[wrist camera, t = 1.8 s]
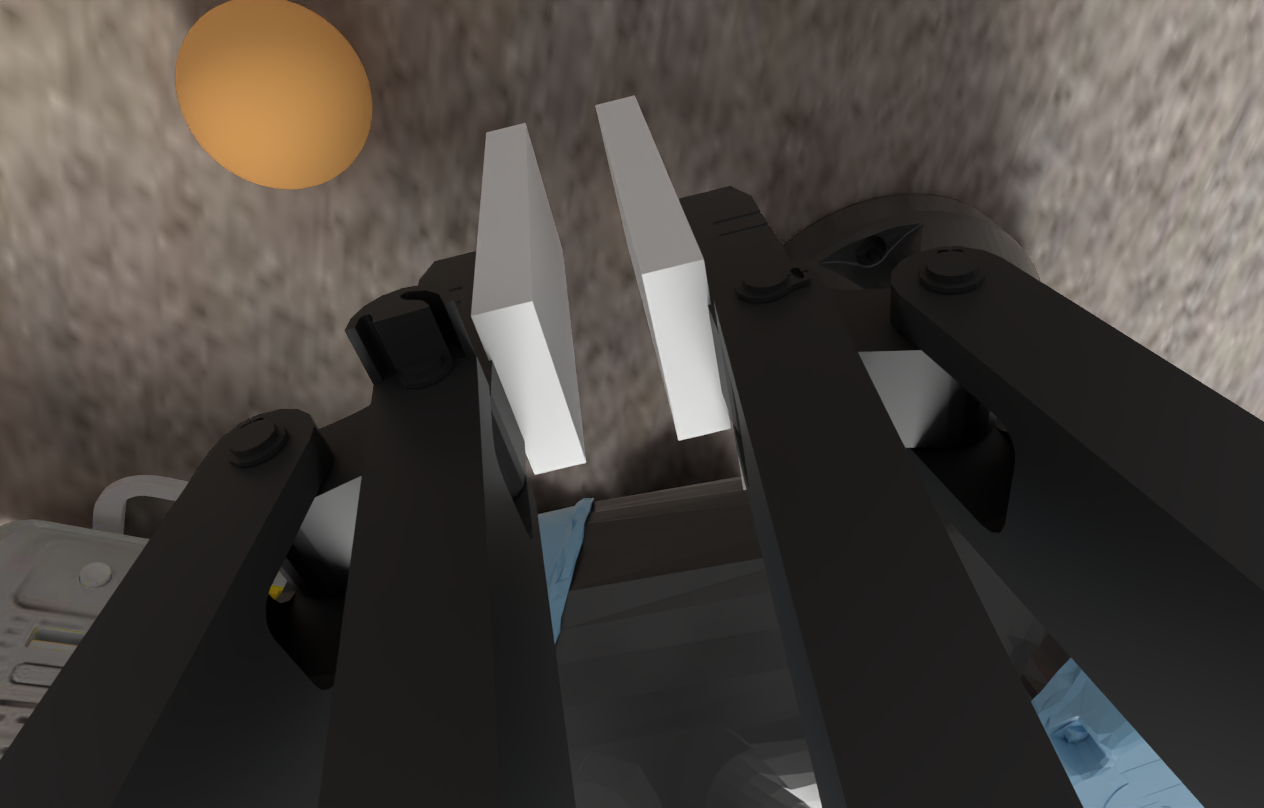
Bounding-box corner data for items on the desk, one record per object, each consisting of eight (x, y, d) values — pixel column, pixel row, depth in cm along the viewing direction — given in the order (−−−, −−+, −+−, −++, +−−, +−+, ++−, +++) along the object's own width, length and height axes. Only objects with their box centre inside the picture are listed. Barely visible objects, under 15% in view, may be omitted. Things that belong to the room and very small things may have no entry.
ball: (401, 25, 27) (377, 70, 23) (363, 175, 31) (336, 242, 26) (220, -51, 25) (153, -20, 21) (200, 118, 28) (138, 179, 24)
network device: (22, 562, 41) (-279, 1024, 26) (21, 447, 37) (-346, 923, 21) (479, 635, 50) (464, 1011, 34) (525, 549, 45) (530, 938, 30)
